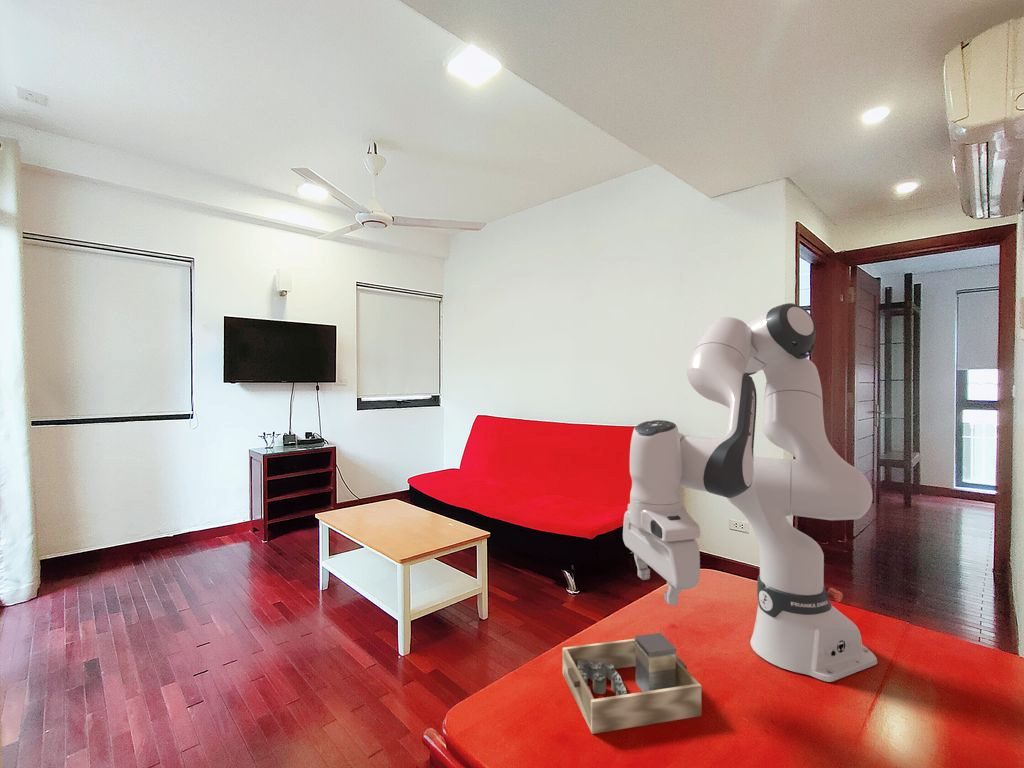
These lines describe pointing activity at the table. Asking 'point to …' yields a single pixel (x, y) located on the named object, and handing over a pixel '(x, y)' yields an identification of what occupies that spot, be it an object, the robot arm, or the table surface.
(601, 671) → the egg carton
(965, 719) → the table surface
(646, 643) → the tin
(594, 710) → the tote
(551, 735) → the table surface
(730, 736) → the table surface
